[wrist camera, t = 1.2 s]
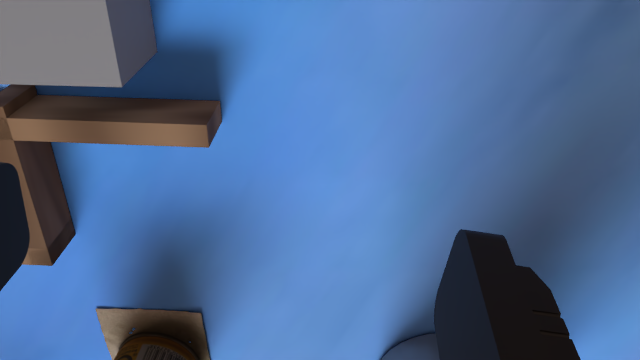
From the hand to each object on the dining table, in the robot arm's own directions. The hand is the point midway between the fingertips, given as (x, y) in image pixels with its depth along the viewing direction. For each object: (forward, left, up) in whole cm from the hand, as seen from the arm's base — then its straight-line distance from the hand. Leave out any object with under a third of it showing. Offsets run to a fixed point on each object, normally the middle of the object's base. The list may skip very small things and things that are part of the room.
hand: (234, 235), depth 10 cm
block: (+11, 0, -18) cm, 21 cm away
